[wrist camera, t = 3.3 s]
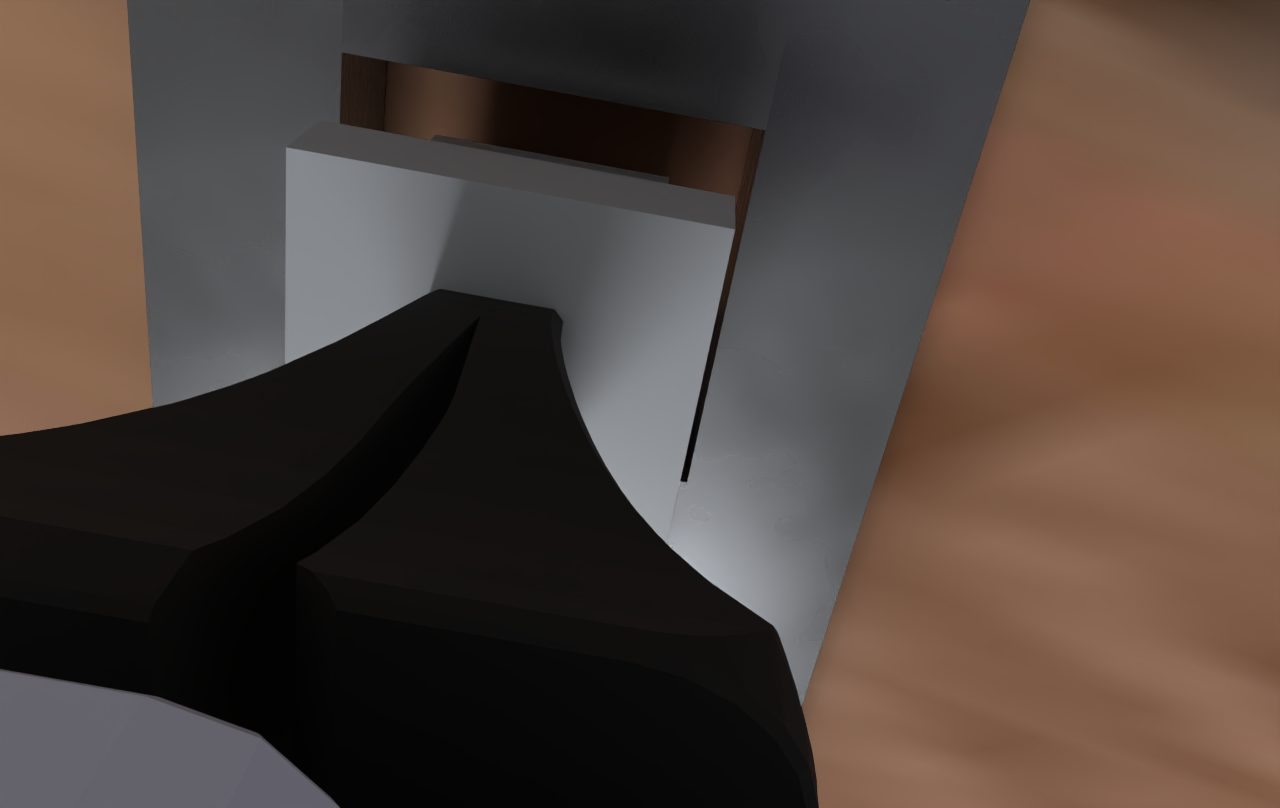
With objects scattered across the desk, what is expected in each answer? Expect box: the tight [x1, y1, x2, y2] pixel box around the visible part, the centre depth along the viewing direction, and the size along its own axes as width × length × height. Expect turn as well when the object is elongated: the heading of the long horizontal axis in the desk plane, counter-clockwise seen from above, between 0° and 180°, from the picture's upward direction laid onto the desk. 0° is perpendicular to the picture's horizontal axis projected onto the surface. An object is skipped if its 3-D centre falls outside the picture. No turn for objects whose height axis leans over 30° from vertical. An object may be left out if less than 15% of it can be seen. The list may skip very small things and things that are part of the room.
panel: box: [127, 0, 1030, 707], centre depth 15 cm, size 10×26×2 cm, turn 171°
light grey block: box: [285, 120, 735, 543], centre depth 13 cm, size 4×4×3 cm
